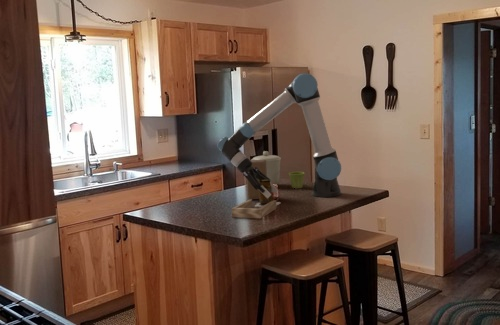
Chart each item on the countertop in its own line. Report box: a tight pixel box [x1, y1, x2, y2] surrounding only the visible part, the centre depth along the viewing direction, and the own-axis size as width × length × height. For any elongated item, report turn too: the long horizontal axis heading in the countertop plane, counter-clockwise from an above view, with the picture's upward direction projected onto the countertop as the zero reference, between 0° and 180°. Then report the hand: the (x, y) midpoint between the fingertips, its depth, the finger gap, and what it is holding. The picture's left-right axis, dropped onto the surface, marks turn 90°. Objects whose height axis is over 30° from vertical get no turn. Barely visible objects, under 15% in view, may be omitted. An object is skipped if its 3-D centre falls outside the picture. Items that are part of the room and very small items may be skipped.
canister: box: [250, 150, 282, 185], centre depth 311 cm, size 18×18×21 cm
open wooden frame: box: [231, 199, 277, 219], centre depth 242 cm, size 14×20×4 cm
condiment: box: [256, 179, 273, 206], centre depth 256 cm, size 7×8×12 cm
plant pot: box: [288, 171, 305, 189], centre depth 300 cm, size 9×9×9 cm
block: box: [246, 159, 267, 200], centre depth 276 cm, size 10×10×20 cm
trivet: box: [254, 201, 282, 208], centre depth 257 cm, size 10×10×1 cm
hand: (273, 194), depth 255 cm, fingers open, 9 cm apart
